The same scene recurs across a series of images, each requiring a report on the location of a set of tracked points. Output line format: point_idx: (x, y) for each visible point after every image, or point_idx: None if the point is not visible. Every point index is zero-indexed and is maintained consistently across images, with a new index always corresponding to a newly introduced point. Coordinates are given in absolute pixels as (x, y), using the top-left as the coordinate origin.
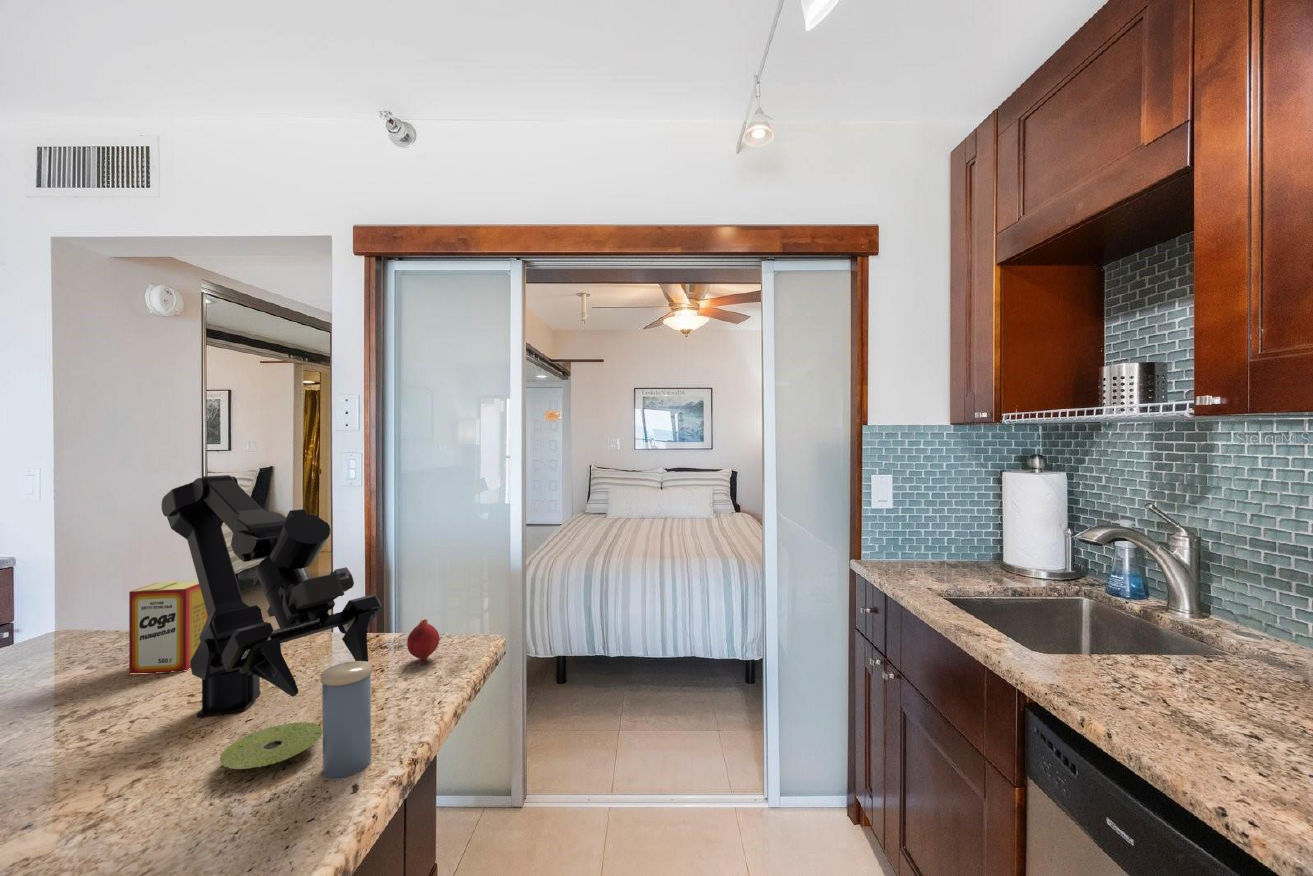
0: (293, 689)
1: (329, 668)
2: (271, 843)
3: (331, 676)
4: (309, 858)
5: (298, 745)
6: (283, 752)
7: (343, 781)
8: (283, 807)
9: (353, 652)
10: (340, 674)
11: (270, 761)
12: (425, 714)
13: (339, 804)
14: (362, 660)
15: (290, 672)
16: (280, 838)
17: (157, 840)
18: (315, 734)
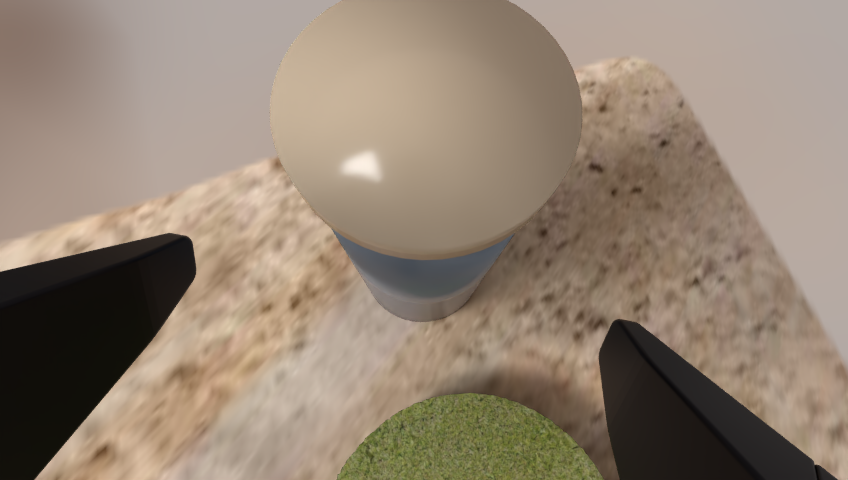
0: (649, 332)
1: (450, 231)
2: (674, 180)
3: (542, 103)
4: (659, 84)
5: (450, 444)
6: (496, 456)
7: None
8: (599, 263)
9: (54, 418)
10: (496, 78)
11: (550, 440)
12: None
13: None
14: (158, 264)
15: (697, 410)
16: (658, 176)
17: (810, 443)
18: (376, 457)
